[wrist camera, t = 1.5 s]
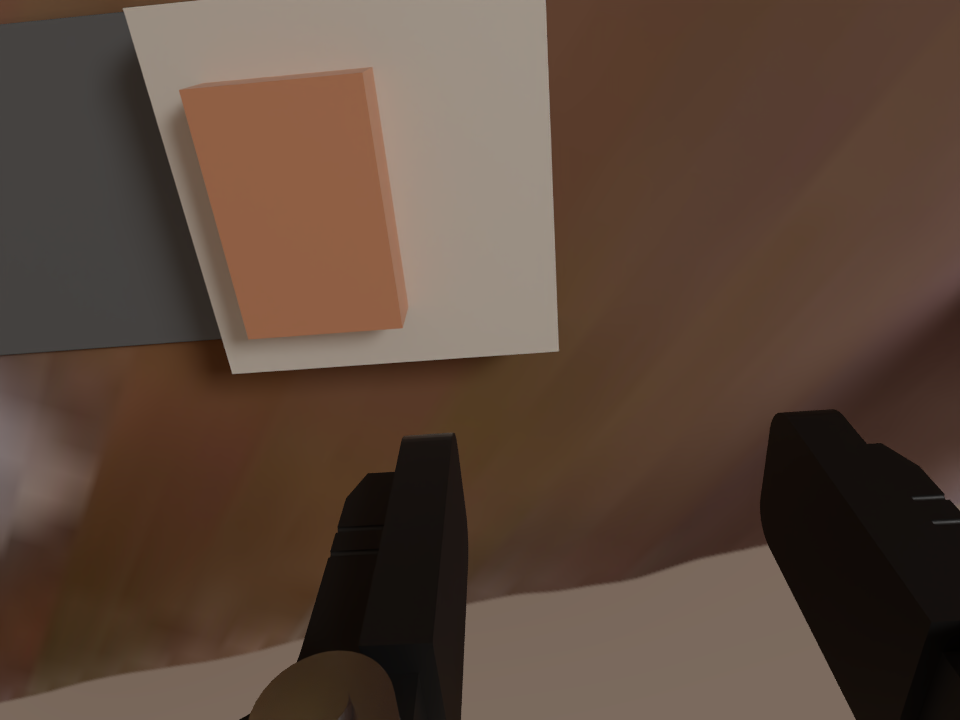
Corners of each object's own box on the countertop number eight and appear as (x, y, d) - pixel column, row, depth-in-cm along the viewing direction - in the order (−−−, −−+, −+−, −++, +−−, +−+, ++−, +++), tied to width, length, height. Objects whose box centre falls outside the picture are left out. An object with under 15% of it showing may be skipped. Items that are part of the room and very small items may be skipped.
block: (372, 66, 23) (362, 72, 21) (408, 307, 27) (402, 328, 26) (202, 83, 23) (178, 89, 22) (264, 317, 28) (248, 339, 26)
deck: (537, -31, 25) (544, -36, 22) (551, 312, 32) (558, 351, 28) (173, 7, 26) (122, 8, 22) (260, 333, 32) (232, 374, 29)
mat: (160, 8, 26) (157, 8, 26) (250, 334, 32) (248, 337, 32) (-181, 43, 27) (-188, 43, 26) (-26, 354, 33) (-30, 357, 33)
